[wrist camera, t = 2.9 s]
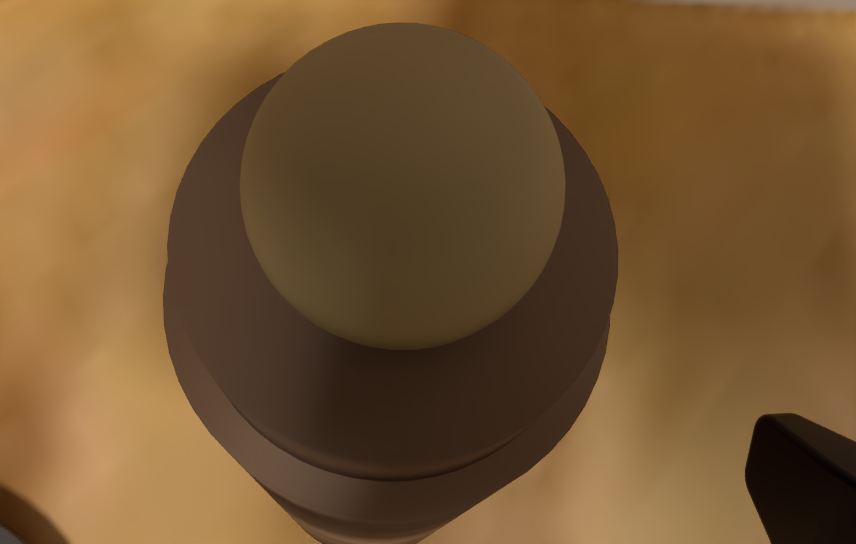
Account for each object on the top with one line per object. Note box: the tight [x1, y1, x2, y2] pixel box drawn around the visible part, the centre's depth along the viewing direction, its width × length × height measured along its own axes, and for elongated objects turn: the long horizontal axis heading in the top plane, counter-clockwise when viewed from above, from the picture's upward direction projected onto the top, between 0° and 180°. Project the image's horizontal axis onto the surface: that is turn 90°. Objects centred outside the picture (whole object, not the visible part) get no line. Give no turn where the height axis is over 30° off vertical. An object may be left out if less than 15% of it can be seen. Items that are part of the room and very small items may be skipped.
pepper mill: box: [163, 23, 618, 544], centre depth 11 cm, size 4×4×14 cm
